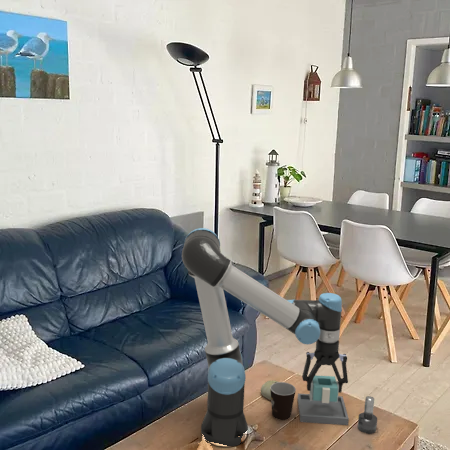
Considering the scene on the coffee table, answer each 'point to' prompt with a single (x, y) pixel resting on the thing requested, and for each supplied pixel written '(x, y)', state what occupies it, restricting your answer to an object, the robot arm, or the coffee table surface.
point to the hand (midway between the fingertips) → (323, 399)
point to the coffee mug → (282, 400)
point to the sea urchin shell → (267, 389)
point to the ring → (325, 389)
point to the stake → (367, 417)
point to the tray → (322, 411)
